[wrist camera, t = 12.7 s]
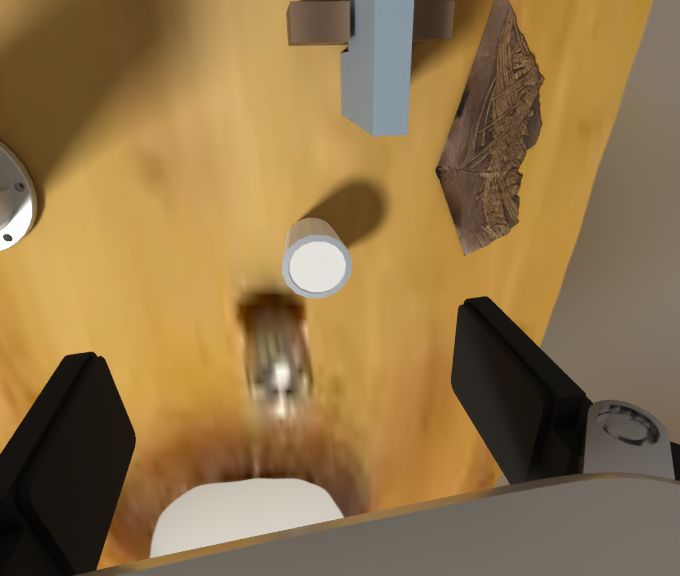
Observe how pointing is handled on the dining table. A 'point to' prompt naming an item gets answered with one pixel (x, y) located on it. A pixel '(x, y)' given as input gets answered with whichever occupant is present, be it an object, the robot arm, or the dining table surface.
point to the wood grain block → (334, 22)
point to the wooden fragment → (491, 134)
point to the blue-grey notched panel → (378, 66)
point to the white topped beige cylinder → (315, 259)
